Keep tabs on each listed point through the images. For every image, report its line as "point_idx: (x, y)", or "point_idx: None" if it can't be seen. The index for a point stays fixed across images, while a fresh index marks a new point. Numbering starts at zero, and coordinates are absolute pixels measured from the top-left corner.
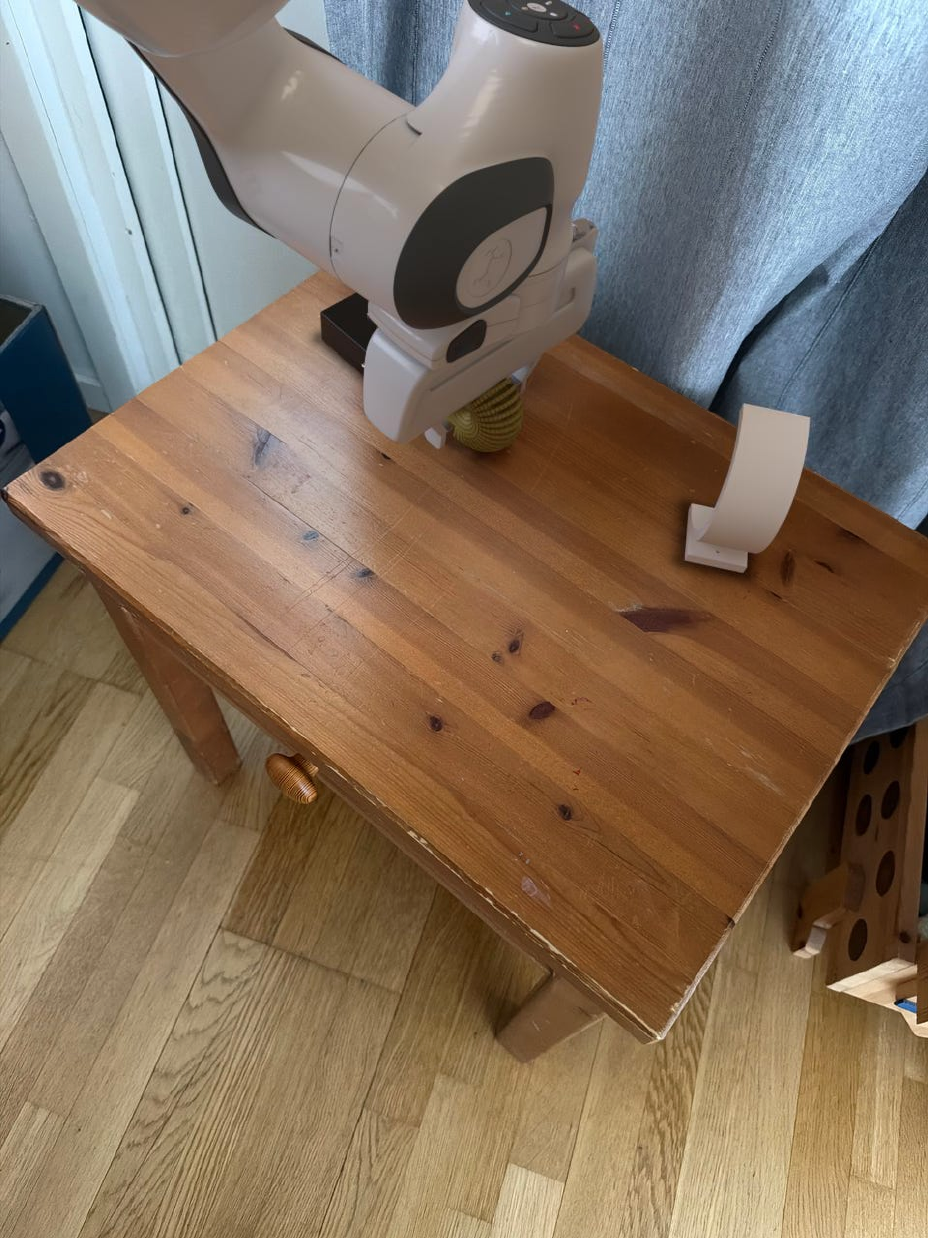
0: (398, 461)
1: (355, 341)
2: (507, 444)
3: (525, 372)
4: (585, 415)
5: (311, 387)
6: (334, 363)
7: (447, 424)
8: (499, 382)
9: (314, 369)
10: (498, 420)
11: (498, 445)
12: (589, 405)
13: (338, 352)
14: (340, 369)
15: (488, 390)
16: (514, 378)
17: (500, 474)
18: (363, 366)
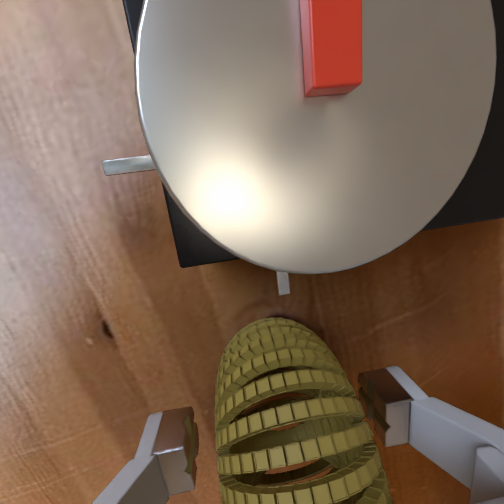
0: (123, 347)
1: (134, 49)
2: (282, 483)
3: (437, 461)
4: (438, 395)
5: (32, 83)
6: (123, 42)
7: (181, 479)
8: (361, 491)
9: (64, 28)
10: (315, 398)
11: (265, 485)
12: (457, 383)
13: None
14: (128, 71)
15: (327, 454)
16: (405, 428)
17: None
18: (104, 169)
